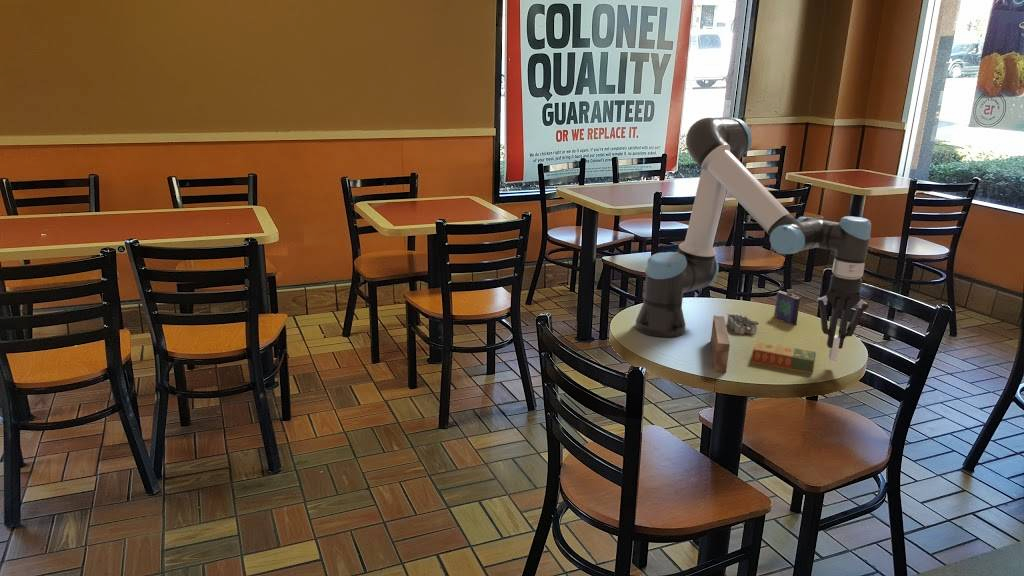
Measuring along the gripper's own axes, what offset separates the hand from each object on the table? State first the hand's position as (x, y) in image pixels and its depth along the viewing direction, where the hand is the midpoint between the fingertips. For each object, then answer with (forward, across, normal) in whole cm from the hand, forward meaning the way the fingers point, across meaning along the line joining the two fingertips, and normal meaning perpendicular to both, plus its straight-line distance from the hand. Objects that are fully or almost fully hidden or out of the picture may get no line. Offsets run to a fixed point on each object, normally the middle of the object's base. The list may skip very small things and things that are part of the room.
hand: (832, 358), depth 201 cm
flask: (+3, -6, +40) cm, 41 cm away
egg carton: (+3, -22, +27) cm, 35 cm away
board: (+3, -30, 0) cm, 30 cm away
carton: (+3, -12, 0) cm, 13 cm away
